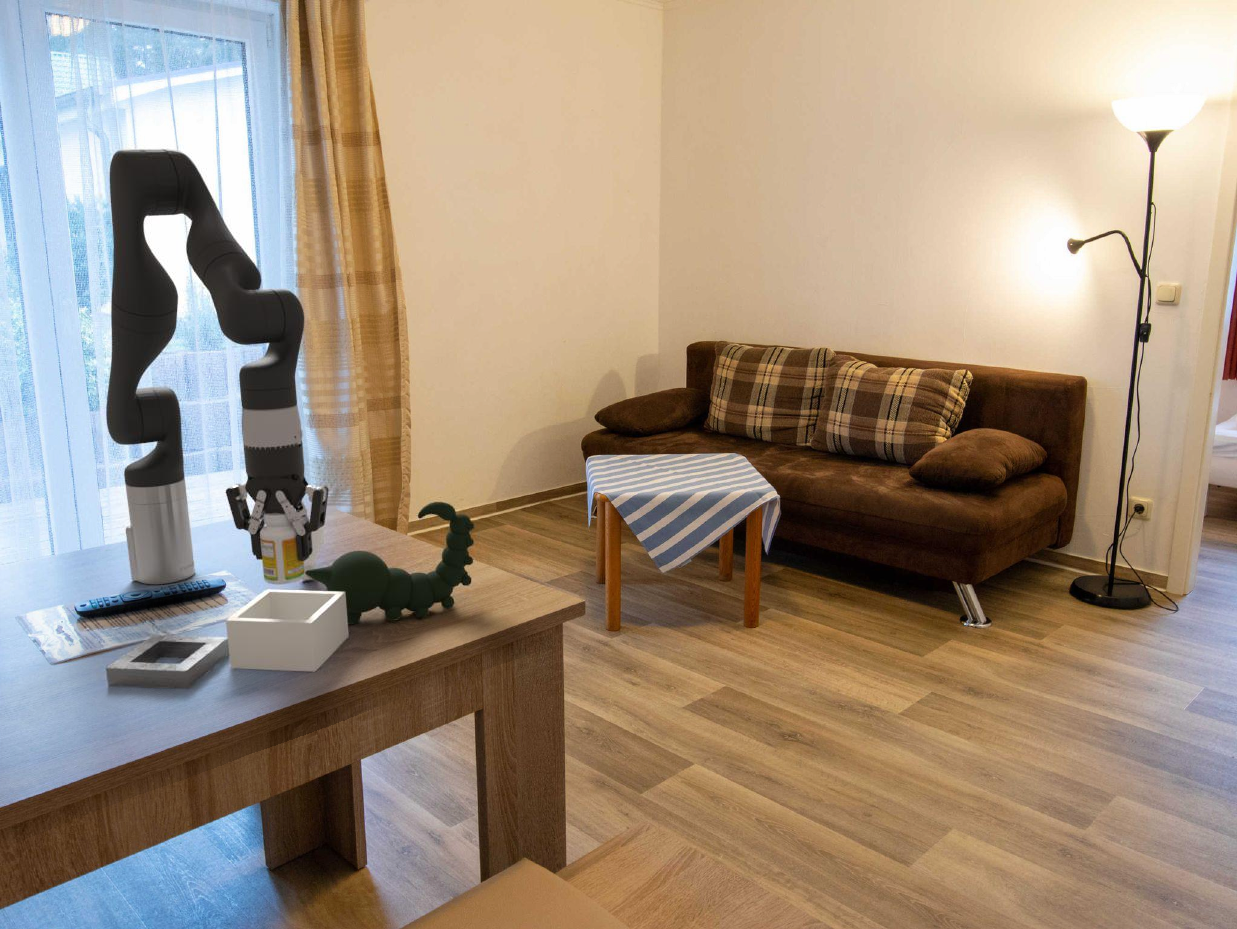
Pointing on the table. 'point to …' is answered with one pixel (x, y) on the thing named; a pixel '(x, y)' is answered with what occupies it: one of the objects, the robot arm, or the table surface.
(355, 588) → the toy figurine
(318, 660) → the bin
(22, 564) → the table surface
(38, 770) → the table surface
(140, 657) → the socket collar
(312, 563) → the lightbulb
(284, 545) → the supplement bottle
